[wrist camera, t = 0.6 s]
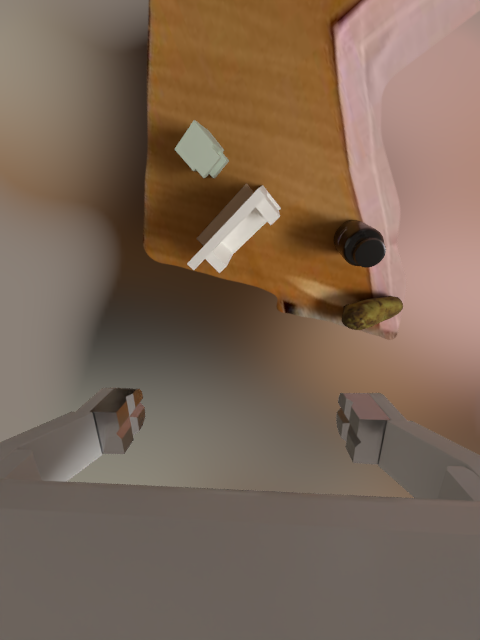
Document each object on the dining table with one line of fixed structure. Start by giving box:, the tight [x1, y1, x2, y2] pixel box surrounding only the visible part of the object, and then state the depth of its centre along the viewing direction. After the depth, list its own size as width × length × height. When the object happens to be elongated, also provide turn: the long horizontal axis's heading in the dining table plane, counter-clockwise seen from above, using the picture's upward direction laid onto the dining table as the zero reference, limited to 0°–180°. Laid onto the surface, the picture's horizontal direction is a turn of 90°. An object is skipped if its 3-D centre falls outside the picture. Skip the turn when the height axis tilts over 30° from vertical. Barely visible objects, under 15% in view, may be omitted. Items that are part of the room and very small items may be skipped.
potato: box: [342, 296, 403, 330], centre depth 52 cm, size 8×13×8 cm, turn 84°
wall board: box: [187, 184, 281, 273], centre depth 42 cm, size 16×8×16 cm, turn 134°
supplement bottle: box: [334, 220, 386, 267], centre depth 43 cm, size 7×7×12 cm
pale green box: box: [175, 120, 229, 178], centre depth 40 cm, size 5×7×9 cm
